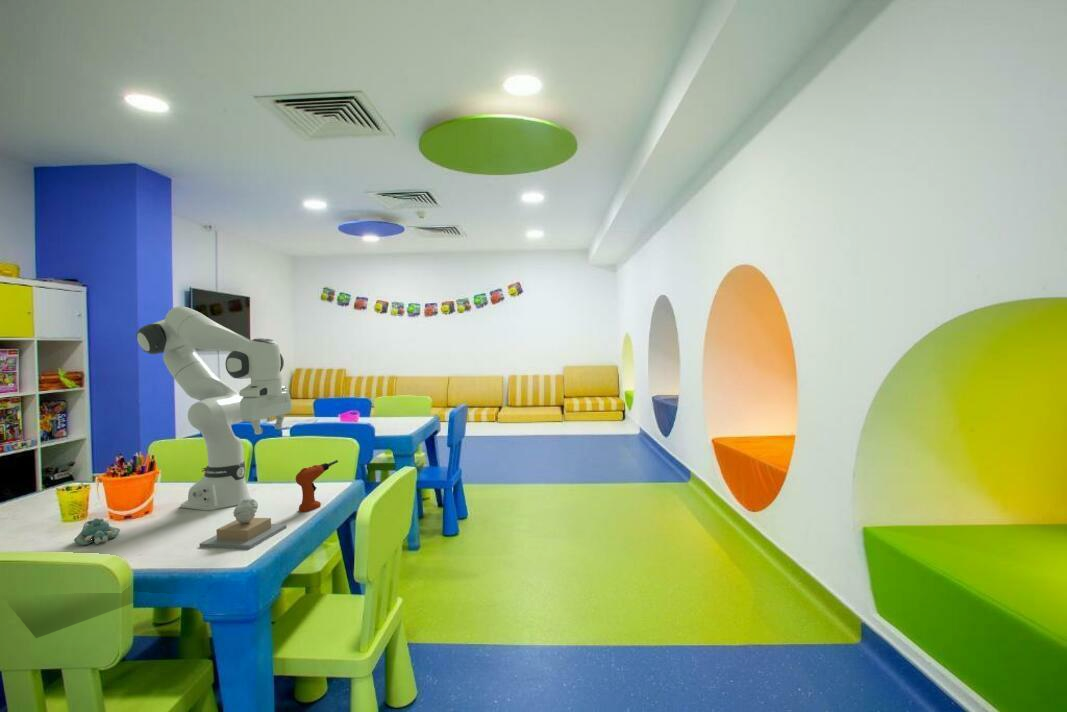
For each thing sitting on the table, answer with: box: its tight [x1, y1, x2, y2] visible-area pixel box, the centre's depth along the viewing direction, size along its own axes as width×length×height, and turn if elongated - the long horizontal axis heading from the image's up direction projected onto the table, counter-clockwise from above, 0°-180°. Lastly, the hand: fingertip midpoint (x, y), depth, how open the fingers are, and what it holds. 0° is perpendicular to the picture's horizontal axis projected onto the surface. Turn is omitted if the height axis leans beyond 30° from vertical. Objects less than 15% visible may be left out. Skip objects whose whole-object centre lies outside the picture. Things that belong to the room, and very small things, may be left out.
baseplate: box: [199, 517, 287, 550], centre depth 151 cm, size 16×16×4 cm
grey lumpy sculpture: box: [233, 497, 259, 523], centre depth 152 cm, size 6×7×7 cm
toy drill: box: [295, 459, 339, 513], centre depth 180 cm, size 5×19×15 cm, turn 156°
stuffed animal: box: [73, 517, 121, 546], centre depth 152 cm, size 11×7×12 cm
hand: (268, 431), depth 164 cm, fingers open, 8 cm apart
